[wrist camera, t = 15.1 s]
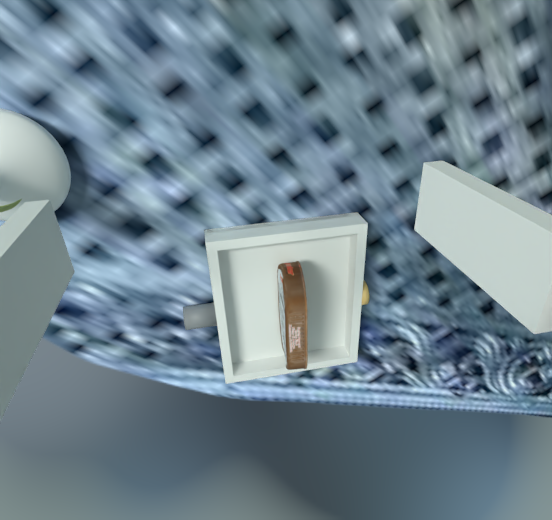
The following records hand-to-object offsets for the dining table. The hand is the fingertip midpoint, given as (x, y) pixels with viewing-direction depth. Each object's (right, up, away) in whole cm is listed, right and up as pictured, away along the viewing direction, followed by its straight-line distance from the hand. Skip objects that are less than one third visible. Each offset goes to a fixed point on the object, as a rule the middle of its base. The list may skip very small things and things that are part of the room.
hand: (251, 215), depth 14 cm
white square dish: (+1, -7, +41) cm, 41 cm away
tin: (+2, -7, +40) cm, 41 cm away
